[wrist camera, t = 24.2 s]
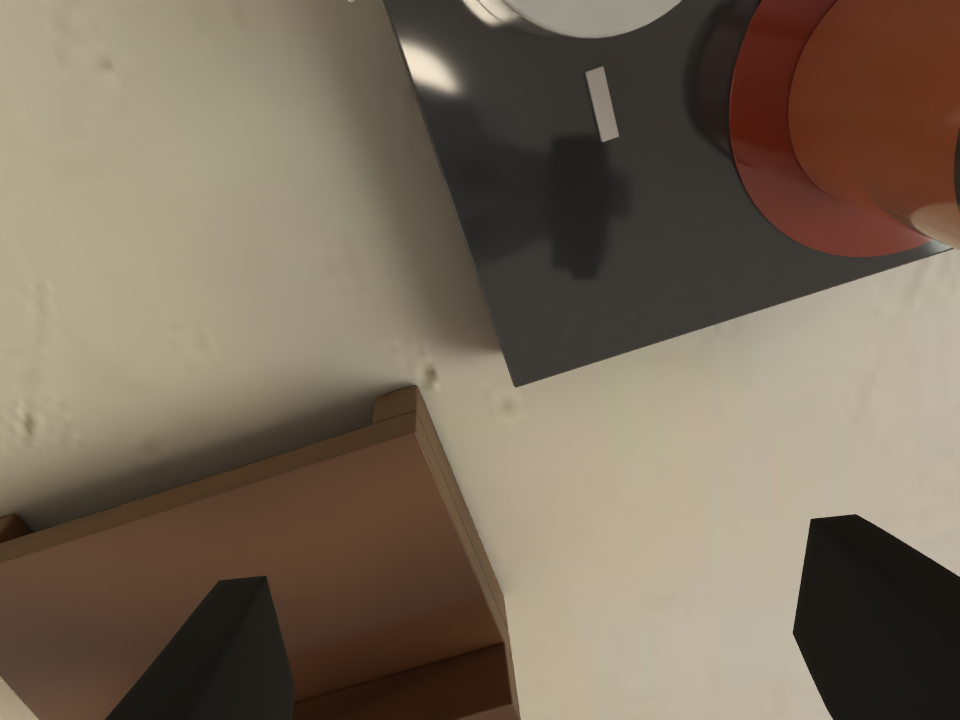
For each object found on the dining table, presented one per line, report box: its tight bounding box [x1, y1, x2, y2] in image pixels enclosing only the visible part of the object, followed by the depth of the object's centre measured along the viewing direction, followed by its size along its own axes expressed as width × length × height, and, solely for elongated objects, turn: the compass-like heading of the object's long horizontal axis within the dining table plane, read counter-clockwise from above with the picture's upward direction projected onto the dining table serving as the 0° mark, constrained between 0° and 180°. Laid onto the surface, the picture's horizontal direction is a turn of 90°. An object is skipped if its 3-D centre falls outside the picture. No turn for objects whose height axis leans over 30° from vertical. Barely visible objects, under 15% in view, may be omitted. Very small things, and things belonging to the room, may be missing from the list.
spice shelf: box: [0, 385, 521, 720], centre depth 19 cm, size 8×13×4 cm, turn 108°
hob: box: [348, 0, 955, 387], centre depth 14 cm, size 13×15×2 cm
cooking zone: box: [728, 0, 933, 257], centre depth 14 cm, size 7×7×1 cm
